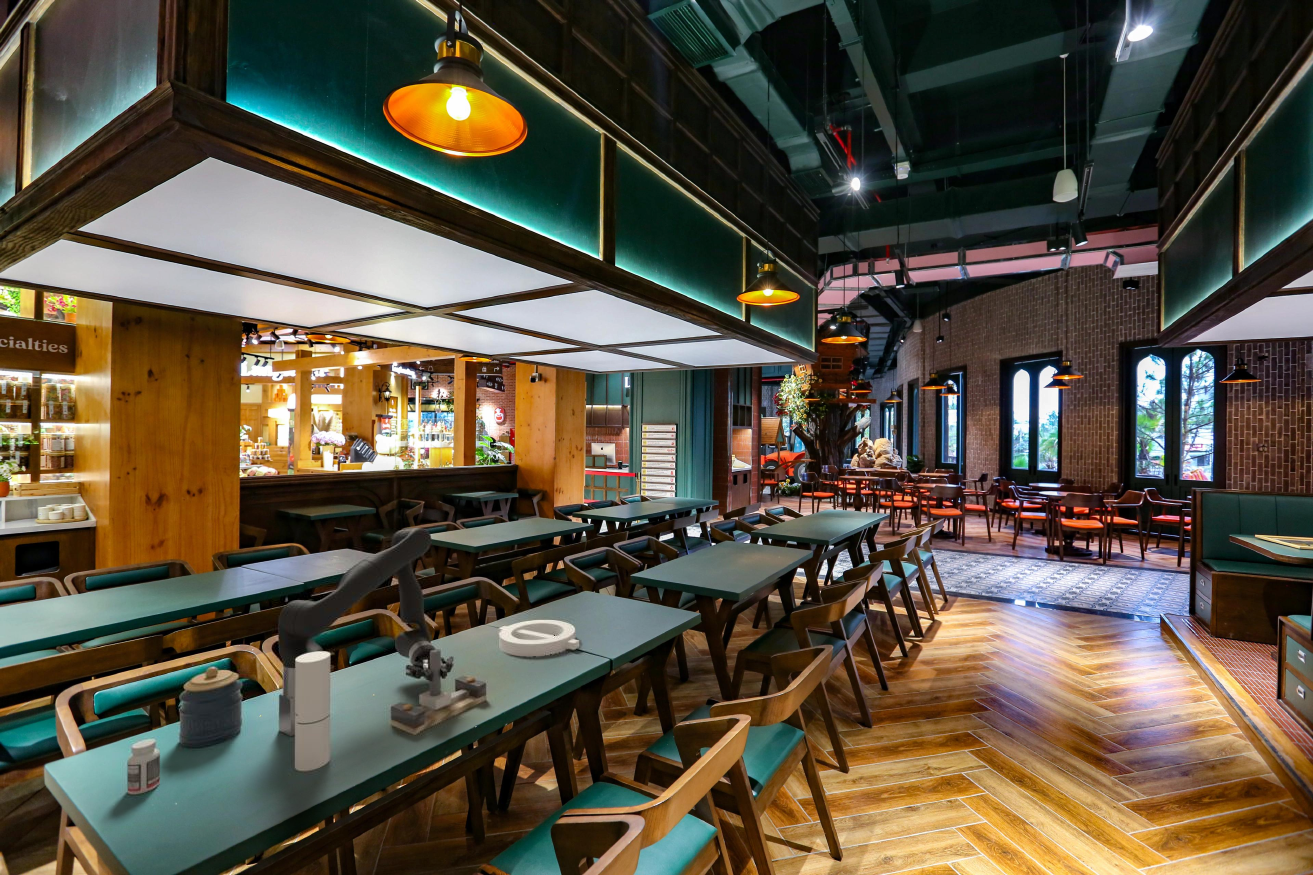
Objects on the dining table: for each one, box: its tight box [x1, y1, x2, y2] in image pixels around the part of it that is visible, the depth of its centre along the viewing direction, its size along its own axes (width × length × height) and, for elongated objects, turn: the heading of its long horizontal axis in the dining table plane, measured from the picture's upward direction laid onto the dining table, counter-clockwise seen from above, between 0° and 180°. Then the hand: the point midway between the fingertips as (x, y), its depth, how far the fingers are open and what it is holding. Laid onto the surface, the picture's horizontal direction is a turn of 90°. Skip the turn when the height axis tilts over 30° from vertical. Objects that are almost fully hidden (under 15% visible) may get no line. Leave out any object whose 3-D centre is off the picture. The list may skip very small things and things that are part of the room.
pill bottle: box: [126, 738, 161, 795], centre depth 128 cm, size 5×5×10 cm
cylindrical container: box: [294, 650, 331, 772], centre depth 138 cm, size 7×7×25 cm
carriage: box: [418, 648, 451, 710], centre depth 162 cm, size 5×7×14 cm
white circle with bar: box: [498, 619, 580, 658], centre depth 220 cm, size 28×28×5 cm
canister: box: [178, 666, 243, 749], centre depth 150 cm, size 13×13×18 cm
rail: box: [390, 675, 487, 735], centre depth 164 cm, size 24×10×6 cm, turn 148°
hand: (437, 676), depth 160 cm, fingers closed on carriage, 3 cm apart
